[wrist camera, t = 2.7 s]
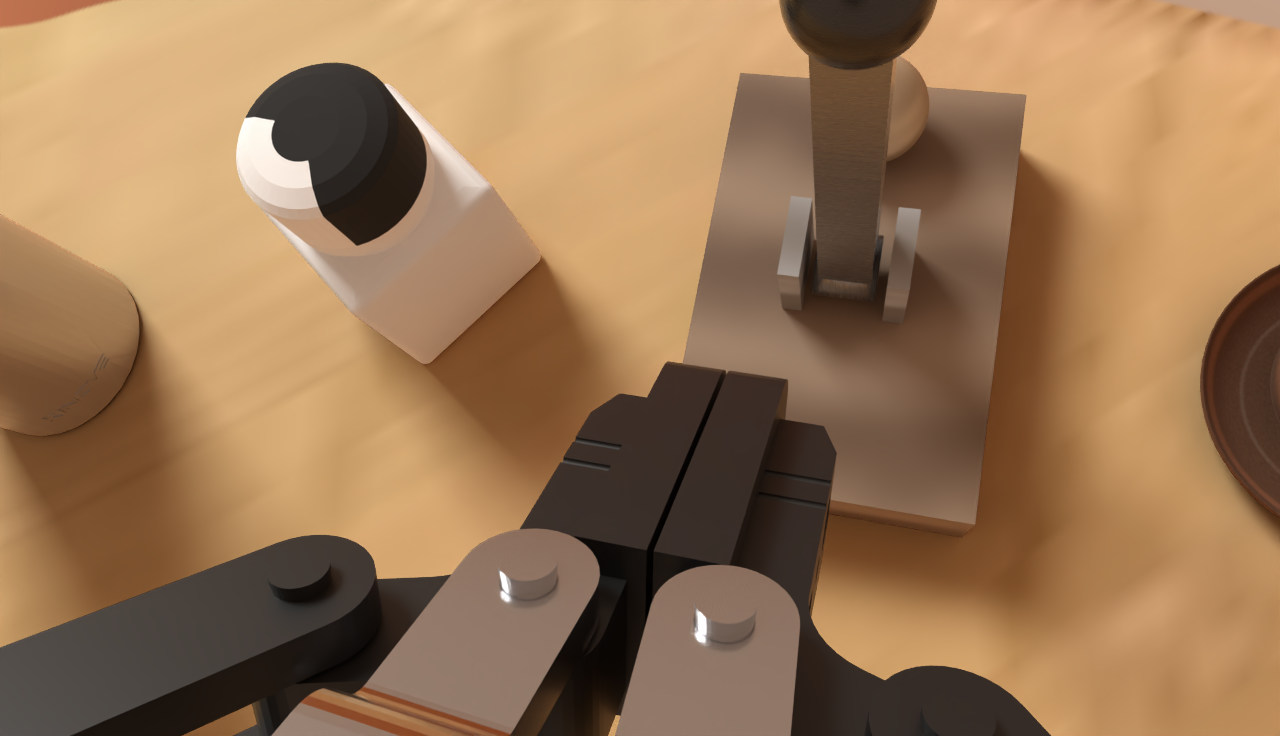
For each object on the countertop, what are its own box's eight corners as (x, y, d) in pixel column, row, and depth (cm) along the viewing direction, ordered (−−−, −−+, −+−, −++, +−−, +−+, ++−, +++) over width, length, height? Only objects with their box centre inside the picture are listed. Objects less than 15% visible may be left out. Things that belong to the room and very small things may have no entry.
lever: (886, 325, 39) (936, 13, 20) (795, 313, 40) (761, 3, 21) (899, 241, 40) (957, -133, 21) (809, 231, 41) (789, -138, 22)
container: (449, 161, 50) (324, -1, 38) (546, 259, 48) (446, 119, 35) (335, 265, 50) (171, 136, 37) (427, 369, 47) (284, 267, 35)
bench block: (962, 537, 41) (992, 507, 33) (676, 487, 43) (641, 448, 35) (1010, 142, 45) (1047, 31, 37) (748, 119, 48) (730, 11, 40)
